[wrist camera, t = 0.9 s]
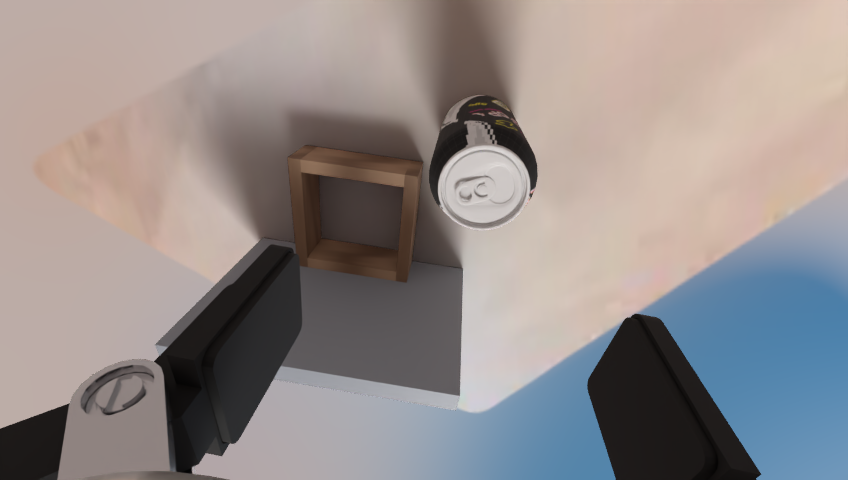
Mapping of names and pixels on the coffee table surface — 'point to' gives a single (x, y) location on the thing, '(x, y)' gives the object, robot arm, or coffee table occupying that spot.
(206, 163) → the coffee table surface
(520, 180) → the beverage can
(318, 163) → the brown wooden open box
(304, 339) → the wall board
